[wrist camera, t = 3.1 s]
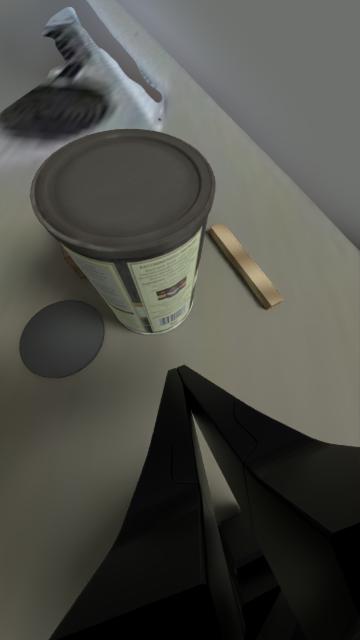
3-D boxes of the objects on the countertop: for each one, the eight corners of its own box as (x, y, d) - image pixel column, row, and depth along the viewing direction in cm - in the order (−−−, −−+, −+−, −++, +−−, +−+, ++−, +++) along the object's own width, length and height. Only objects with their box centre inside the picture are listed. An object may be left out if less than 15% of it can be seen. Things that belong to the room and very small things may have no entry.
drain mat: (110, 362, 20) (109, 361, 20) (23, 389, 19) (20, 389, 19) (97, 293, 23) (96, 292, 23) (21, 313, 22) (18, 312, 22)
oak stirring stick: (277, 304, 24) (284, 299, 23) (265, 311, 24) (271, 305, 22) (220, 231, 28) (222, 222, 27) (208, 235, 28) (210, 227, 27)
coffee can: (143, 252, 26) (111, 110, 13) (207, 286, 24) (245, 161, 11) (93, 308, 23) (-16, 194, 10) (164, 352, 21) (147, 285, 8)
